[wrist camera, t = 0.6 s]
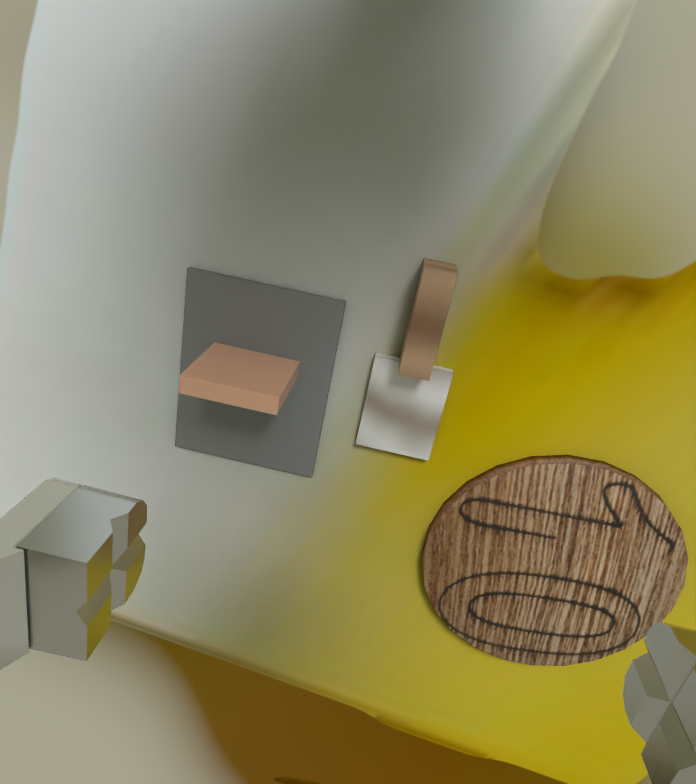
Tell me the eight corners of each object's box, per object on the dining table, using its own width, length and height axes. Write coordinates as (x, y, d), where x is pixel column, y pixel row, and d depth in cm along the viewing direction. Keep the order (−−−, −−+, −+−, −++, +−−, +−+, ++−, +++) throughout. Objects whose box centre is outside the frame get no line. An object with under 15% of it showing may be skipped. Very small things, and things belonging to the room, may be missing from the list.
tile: (214, 342, 51) (180, 374, 44) (300, 361, 51) (279, 397, 44) (212, 359, 52) (178, 394, 45) (297, 379, 52) (276, 416, 45)
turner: (398, 252, 47) (396, 261, 43) (481, 270, 47) (486, 280, 43) (356, 439, 54) (351, 460, 51) (428, 455, 54) (428, 477, 50)
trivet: (431, 443, 54) (431, 453, 52) (710, 463, 51) (720, 474, 49) (415, 638, 64) (415, 652, 62) (647, 663, 61) (654, 678, 59)
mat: (189, 267, 49) (187, 268, 49) (345, 301, 49) (345, 302, 48) (177, 443, 57) (175, 445, 56) (312, 474, 56) (311, 477, 56)
